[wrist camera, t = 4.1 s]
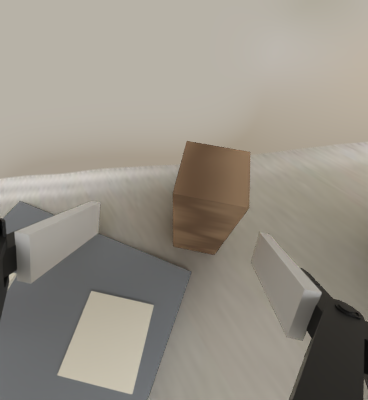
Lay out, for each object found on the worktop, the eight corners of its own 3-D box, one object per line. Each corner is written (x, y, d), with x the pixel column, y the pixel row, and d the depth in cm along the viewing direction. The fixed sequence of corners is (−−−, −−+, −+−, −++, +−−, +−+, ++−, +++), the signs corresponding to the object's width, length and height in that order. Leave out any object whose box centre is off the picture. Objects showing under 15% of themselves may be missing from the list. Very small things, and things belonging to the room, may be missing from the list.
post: (218, 217, 25) (250, 152, 14) (214, 254, 22) (249, 207, 12) (181, 210, 25) (186, 141, 15) (173, 246, 23) (172, 193, 12)
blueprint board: (190, 273, 21) (191, 271, 20) (97, 542, 12) (90, 565, 11) (25, 204, 24) (18, 199, 23) (-140, 378, 16) (-164, 383, 15)
